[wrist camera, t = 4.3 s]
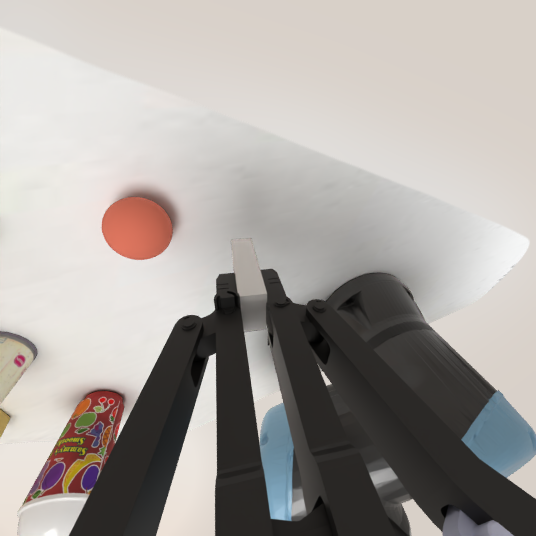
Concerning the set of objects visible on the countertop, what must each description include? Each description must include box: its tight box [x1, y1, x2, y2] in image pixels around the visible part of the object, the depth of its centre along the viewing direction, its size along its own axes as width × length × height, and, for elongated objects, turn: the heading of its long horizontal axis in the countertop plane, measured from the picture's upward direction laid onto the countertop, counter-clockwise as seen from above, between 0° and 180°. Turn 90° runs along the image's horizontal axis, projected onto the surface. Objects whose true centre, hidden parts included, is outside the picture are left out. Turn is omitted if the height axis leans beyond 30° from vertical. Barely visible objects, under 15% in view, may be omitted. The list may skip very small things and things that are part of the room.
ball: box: [102, 197, 173, 260], centre depth 23 cm, size 6×6×6 cm
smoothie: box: [17, 391, 124, 536], centre depth 32 cm, size 8×8×20 cm
